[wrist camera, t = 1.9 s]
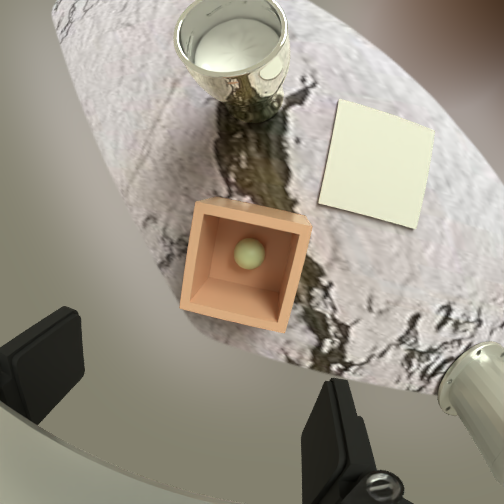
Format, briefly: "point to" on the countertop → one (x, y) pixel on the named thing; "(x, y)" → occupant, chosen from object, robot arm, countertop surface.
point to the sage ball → (249, 253)
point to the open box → (235, 277)
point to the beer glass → (237, 53)
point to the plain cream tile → (377, 164)
